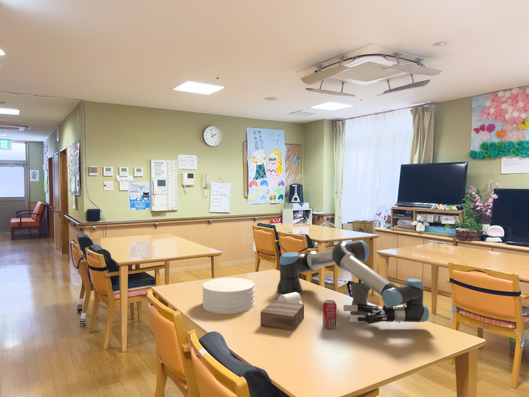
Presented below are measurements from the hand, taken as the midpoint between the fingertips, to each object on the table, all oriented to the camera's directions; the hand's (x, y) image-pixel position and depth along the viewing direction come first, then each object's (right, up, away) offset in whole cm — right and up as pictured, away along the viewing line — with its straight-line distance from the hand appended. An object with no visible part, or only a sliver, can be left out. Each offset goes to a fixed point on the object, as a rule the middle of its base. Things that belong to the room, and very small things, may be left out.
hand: (346, 313), depth 176 cm
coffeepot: (+10, -6, +19) cm, 22 cm away
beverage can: (-8, -7, +1) cm, 10 cm away
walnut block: (-29, -6, +7) cm, 30 cm away
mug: (-23, -6, +25) cm, 35 cm away
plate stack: (-57, -6, +33) cm, 66 cm away
